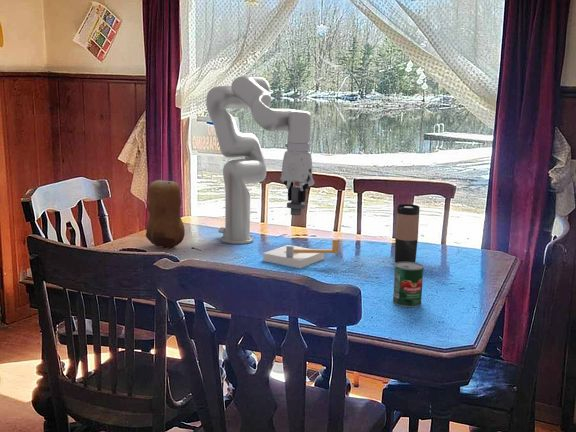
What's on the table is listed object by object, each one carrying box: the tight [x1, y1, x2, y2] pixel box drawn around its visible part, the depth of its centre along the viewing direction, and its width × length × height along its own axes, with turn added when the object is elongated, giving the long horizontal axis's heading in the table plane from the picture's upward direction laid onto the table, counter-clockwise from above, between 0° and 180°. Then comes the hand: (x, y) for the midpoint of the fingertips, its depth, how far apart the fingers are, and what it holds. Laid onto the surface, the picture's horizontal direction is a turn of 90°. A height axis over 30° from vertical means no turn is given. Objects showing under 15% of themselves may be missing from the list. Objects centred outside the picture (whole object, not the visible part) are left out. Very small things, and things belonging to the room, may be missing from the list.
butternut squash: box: [145, 179, 186, 249], centre depth 230 cm, size 14×13×25 cm
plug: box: [286, 185, 306, 217], centre depth 216 cm, size 6×6×10 cm
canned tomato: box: [392, 262, 425, 308], centre depth 176 cm, size 8×8×11 cm
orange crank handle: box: [285, 238, 339, 257], centre depth 208 cm, size 2×17×6 cm, turn 94°
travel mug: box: [394, 203, 420, 264], centre depth 218 cm, size 8×8×20 cm
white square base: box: [262, 244, 325, 269], centre depth 214 cm, size 15×15×4 cm
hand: (296, 200), depth 217 cm, fingers closed on plug, 3 cm apart
